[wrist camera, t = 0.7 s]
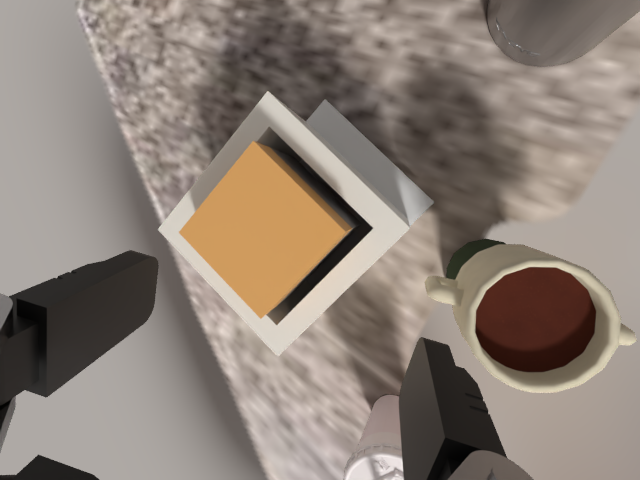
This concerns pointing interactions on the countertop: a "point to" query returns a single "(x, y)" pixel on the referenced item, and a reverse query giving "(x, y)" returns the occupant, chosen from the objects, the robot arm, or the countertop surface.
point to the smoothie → (379, 445)
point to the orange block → (268, 227)
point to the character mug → (531, 315)
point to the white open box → (339, 179)
